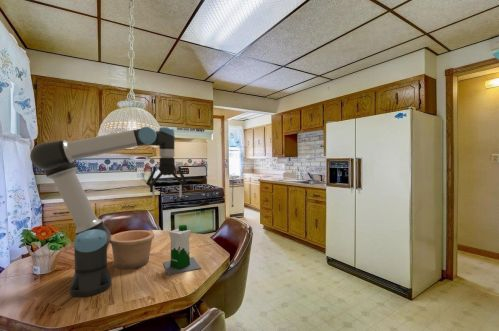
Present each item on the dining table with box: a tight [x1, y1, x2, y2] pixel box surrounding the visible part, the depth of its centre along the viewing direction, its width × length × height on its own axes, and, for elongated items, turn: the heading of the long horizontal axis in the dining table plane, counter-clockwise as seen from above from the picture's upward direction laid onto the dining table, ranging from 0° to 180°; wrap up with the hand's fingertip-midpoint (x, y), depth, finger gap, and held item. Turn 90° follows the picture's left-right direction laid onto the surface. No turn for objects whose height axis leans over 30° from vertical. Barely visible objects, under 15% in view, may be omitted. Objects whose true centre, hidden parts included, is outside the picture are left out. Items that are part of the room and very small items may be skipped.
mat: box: [162, 256, 202, 276], centre depth 130 cm, size 16×16×1 cm
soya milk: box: [168, 224, 192, 269], centre depth 129 cm, size 9×9×20 cm
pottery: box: [109, 229, 155, 270], centre depth 134 cm, size 22×22×14 cm
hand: (167, 198), depth 133 cm, fingers open, 13 cm apart
